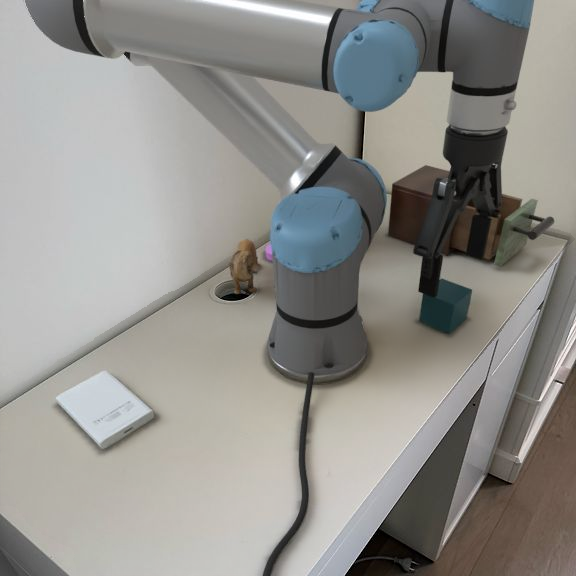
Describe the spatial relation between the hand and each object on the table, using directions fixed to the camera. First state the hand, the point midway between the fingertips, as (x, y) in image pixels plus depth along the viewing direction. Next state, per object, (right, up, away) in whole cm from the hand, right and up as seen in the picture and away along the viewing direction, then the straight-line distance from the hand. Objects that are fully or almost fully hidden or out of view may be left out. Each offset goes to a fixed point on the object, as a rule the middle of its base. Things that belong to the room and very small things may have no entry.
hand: (452, 274), depth 82 cm
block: (0, -6, +6) cm, 9 cm away
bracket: (-23, +7, +23) cm, 33 cm away
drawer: (+14, +9, +20) cm, 26 cm away
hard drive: (-50, -21, -6) cm, 55 cm away
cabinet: (+4, +14, +27) cm, 31 cm away
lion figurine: (-32, +2, +17) cm, 36 cm away
